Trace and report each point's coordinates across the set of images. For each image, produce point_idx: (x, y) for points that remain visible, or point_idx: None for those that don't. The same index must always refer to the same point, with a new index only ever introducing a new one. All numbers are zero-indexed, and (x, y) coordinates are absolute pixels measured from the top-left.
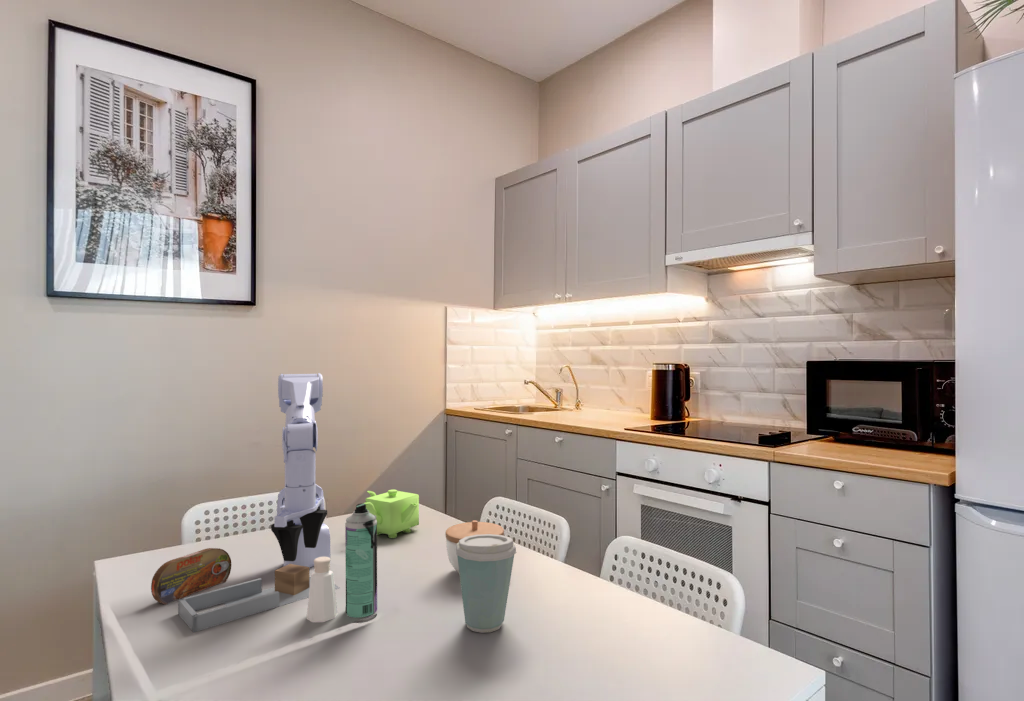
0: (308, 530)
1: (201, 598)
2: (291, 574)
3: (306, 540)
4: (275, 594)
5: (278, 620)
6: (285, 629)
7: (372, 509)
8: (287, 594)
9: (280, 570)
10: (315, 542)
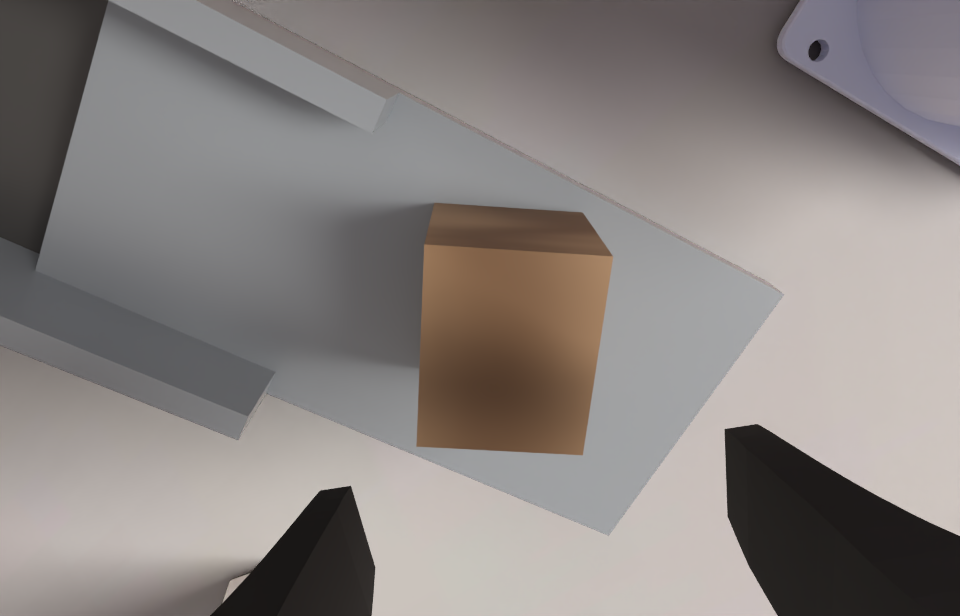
0: (832, 600)
1: None
2: (417, 418)
3: (761, 488)
4: (214, 427)
5: (198, 441)
6: (147, 529)
7: None
8: (419, 324)
9: (441, 293)
10: (752, 568)
